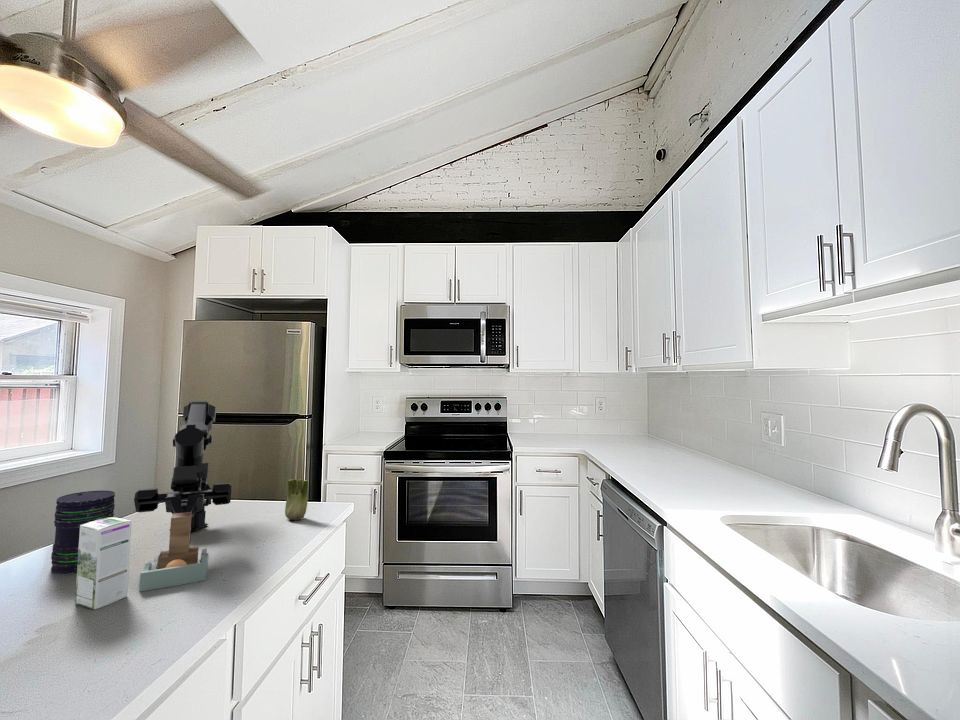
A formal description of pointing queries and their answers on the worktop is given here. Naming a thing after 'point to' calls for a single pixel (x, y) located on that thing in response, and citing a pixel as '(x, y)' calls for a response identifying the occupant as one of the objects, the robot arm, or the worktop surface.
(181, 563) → the ball
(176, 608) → the worktop surface
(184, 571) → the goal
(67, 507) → the storage jar
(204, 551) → the rails
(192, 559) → the kicker
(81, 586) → the syrup box
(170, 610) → the worktop surface
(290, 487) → the fennel bulb
